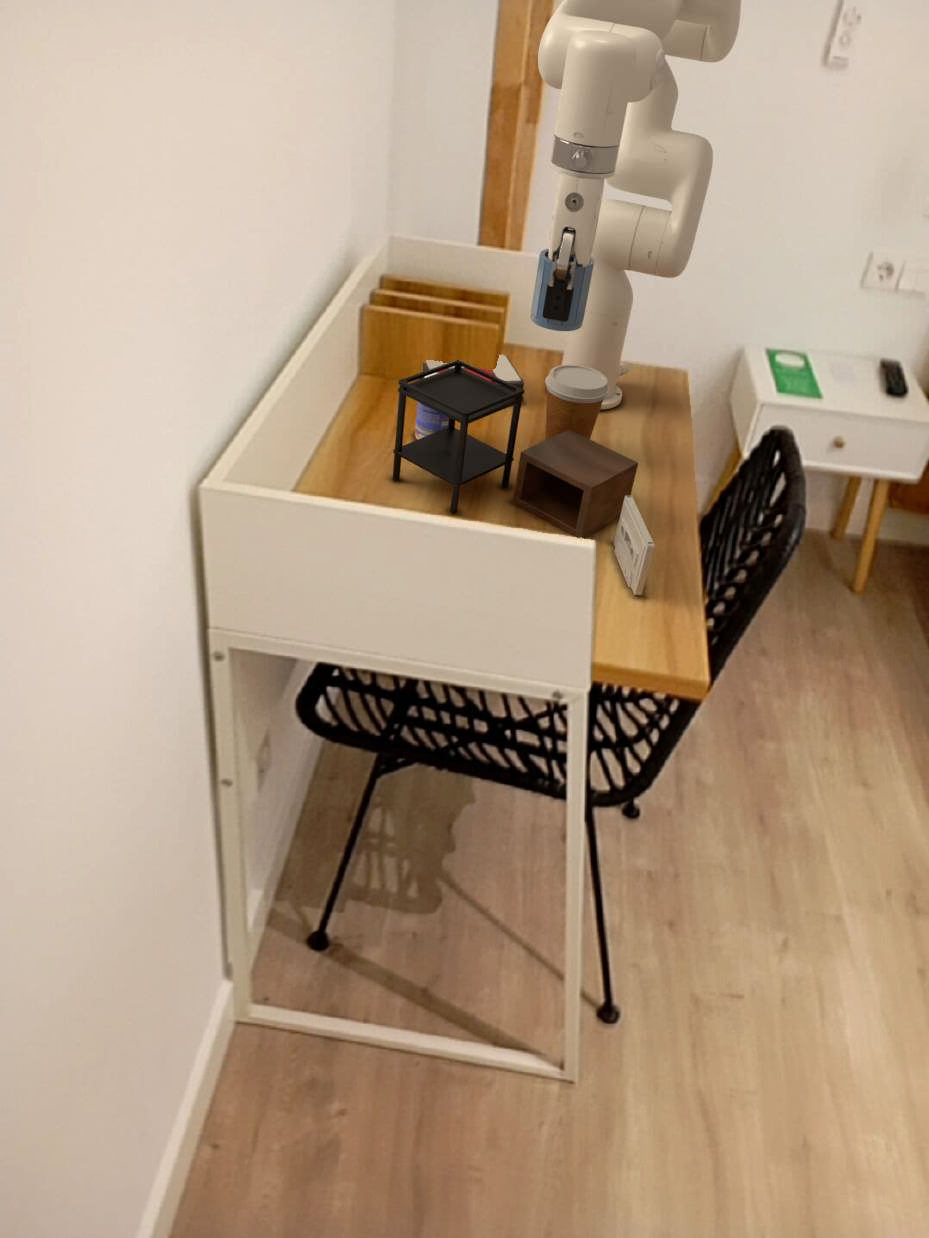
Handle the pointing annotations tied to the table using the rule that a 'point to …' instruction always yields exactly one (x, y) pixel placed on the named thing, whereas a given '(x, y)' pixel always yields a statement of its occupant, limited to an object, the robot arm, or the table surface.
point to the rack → (450, 447)
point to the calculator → (488, 371)
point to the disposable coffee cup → (574, 399)
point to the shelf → (574, 482)
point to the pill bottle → (429, 420)
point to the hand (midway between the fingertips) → (558, 307)
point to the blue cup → (578, 300)
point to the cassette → (633, 546)
